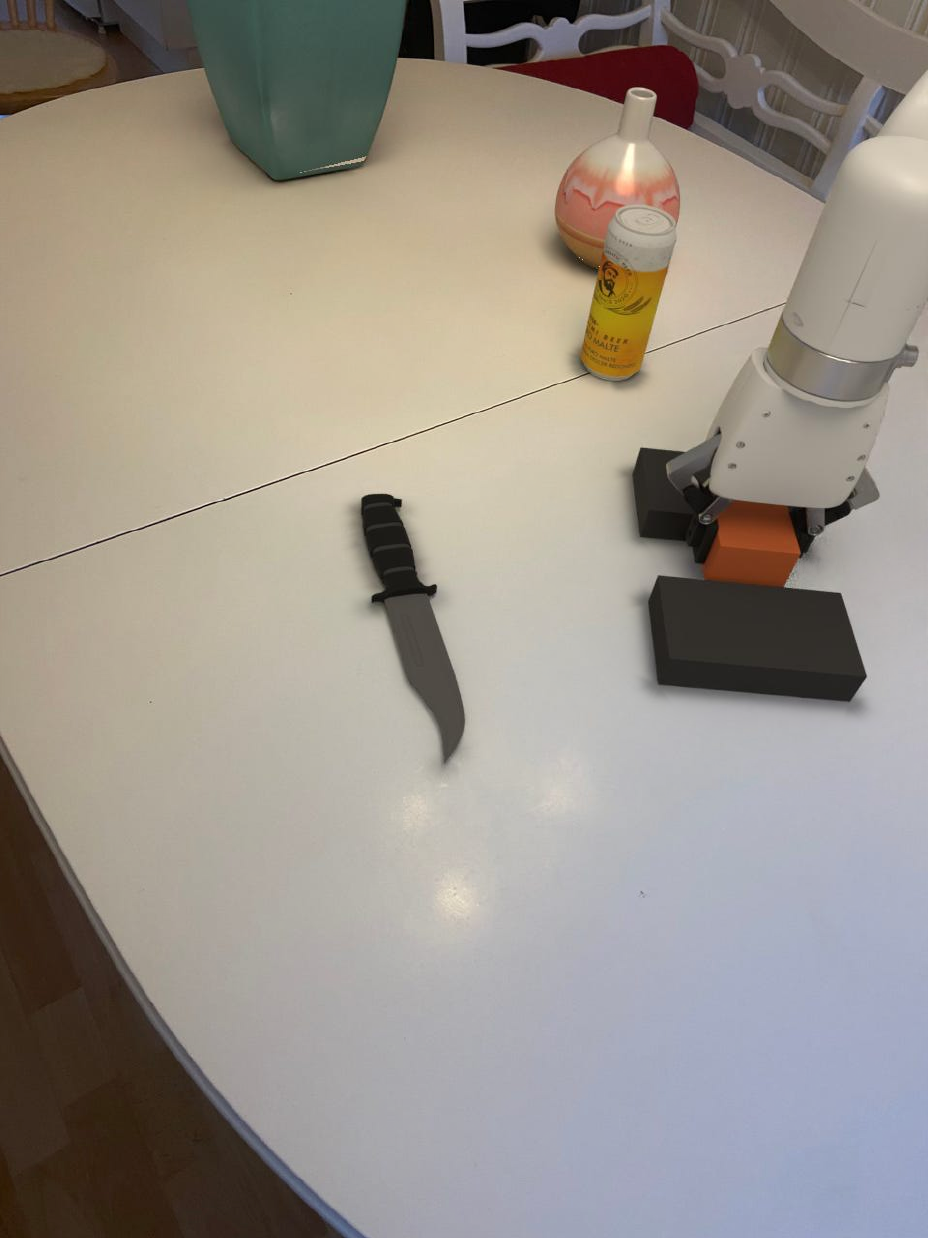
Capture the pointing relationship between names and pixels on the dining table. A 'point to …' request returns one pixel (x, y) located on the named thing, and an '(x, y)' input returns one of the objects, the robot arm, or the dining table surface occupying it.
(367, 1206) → the dining table surface
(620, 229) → the beer can
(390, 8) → the flower pot
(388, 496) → the knife
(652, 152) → the vase
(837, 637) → the pads
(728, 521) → the link piece
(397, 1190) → the dining table surface
